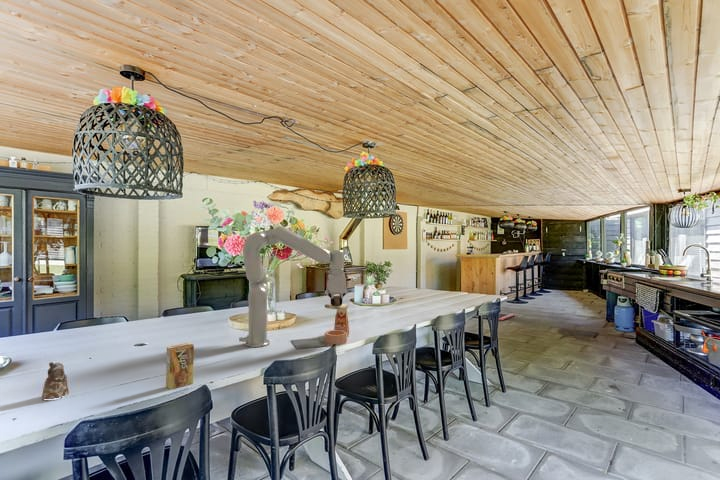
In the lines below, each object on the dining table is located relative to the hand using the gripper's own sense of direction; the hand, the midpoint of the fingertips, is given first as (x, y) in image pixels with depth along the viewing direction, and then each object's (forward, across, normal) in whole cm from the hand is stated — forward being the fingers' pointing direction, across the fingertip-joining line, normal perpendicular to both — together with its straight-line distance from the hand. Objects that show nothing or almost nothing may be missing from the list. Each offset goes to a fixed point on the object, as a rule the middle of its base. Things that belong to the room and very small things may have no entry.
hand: (336, 305), depth 207 cm
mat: (+20, -15, +1) cm, 25 cm away
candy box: (+20, -75, -38) cm, 87 cm away
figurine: (+20, -115, -35) cm, 122 cm away
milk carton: (+21, +8, +14) cm, 26 cm away
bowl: (+20, 0, 0) cm, 20 cm away
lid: (+1, 0, 0) cm, 1 cm away
